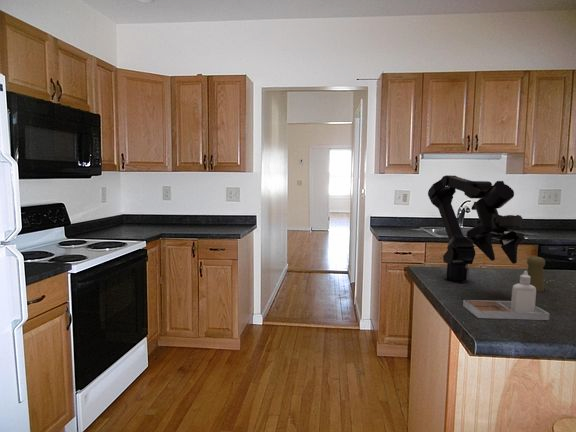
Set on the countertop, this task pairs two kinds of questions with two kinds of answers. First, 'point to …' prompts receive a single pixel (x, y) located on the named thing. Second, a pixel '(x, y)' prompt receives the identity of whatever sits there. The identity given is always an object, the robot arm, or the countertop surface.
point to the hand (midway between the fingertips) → (504, 261)
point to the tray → (501, 310)
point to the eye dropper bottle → (523, 295)
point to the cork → (536, 272)
